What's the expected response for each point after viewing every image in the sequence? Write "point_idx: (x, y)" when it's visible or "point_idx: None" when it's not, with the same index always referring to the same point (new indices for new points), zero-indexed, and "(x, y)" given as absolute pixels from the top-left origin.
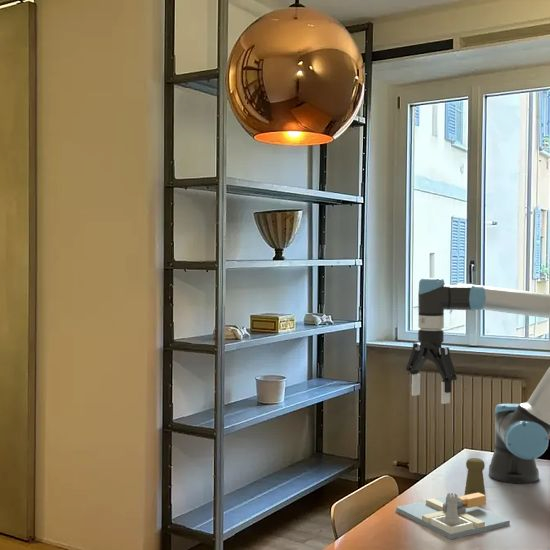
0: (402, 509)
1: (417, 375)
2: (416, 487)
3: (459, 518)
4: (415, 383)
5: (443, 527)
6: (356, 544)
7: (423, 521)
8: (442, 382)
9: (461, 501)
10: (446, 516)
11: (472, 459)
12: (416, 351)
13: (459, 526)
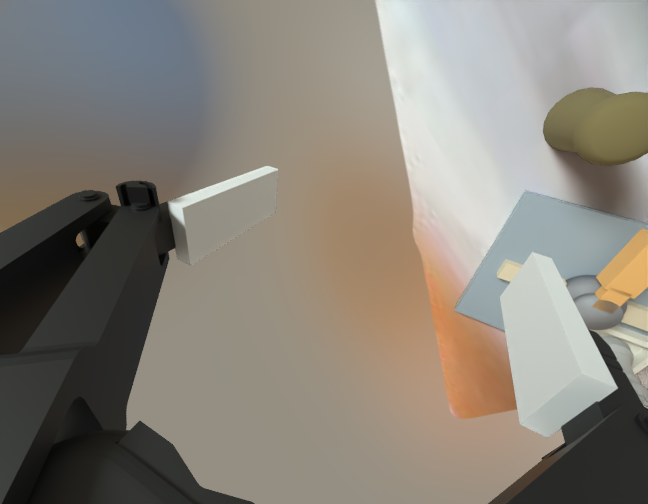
0: (471, 315)
1: (193, 230)
2: (413, 176)
3: (630, 355)
4: (233, 222)
5: None
6: (475, 414)
7: None
8: (536, 427)
9: (621, 316)
10: None
11: (615, 147)
12: None
13: (637, 372)
